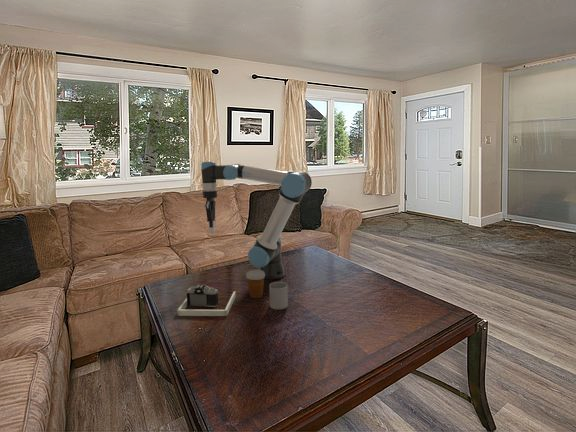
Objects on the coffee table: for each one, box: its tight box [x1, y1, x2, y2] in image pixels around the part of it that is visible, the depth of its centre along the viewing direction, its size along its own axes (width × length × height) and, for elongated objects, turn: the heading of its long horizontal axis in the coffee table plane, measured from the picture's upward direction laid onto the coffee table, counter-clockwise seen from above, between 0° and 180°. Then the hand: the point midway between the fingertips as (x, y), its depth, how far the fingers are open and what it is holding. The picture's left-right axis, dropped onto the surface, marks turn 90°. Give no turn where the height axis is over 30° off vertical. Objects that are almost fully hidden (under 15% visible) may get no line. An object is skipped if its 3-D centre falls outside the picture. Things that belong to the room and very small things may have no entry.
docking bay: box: [176, 291, 237, 317], centre depth 164 cm, size 22×21×2 cm
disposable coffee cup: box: [245, 269, 265, 299], centre depth 173 cm, size 10×10×12 cm
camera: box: [186, 283, 219, 308], centre depth 165 cm, size 16×9×10 cm, turn 81°
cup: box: [268, 281, 289, 310], centre depth 162 cm, size 8×8×10 cm
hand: (212, 232), depth 194 cm, fingers closed
